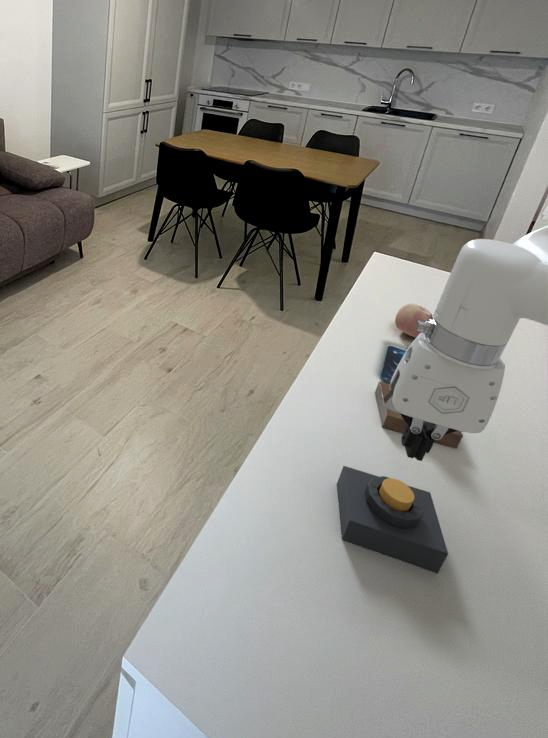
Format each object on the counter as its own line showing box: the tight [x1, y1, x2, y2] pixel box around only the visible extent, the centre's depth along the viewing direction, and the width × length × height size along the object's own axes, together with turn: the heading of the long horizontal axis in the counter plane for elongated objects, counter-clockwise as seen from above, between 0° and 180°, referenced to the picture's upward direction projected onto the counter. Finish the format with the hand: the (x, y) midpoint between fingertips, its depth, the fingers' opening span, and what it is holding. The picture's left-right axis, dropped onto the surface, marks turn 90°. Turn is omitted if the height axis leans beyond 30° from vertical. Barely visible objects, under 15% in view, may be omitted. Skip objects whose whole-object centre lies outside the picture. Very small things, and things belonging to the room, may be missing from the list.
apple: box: [394, 303, 432, 339], centre depth 118 cm, size 8×8×8 cm
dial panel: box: [374, 381, 463, 449], centre depth 93 cm, size 12×10×3 cm
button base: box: [336, 465, 449, 574], centre depth 72 cm, size 12×10×6 cm
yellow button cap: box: [379, 477, 414, 511], centre depth 70 cm, size 4×4×2 cm
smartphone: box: [379, 345, 407, 384], centre depth 107 cm, size 8×1×15 cm
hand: (412, 451), depth 67 cm, fingers closed
